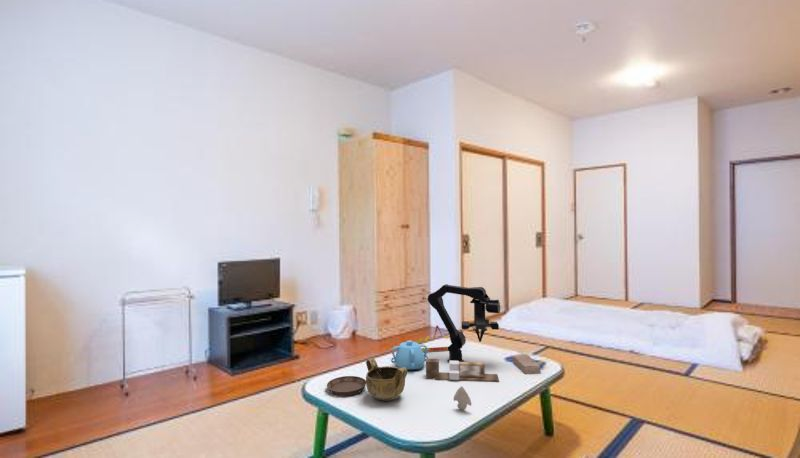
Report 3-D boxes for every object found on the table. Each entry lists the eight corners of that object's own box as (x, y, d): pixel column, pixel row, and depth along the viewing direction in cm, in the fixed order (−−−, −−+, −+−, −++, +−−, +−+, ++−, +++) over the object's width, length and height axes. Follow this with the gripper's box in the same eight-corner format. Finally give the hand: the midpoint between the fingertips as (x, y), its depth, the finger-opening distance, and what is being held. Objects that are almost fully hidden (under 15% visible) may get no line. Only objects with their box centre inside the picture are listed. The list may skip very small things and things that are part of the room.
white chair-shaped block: (449, 379, 200) (449, 366, 199) (449, 372, 208) (449, 360, 208) (459, 379, 199) (459, 367, 199) (458, 372, 208) (458, 360, 208)
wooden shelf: (425, 379, 202) (425, 362, 202) (426, 373, 210) (426, 357, 210) (499, 382, 198) (498, 364, 198) (497, 375, 206) (497, 359, 205)
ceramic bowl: (418, 399, 180) (418, 363, 180) (390, 412, 168) (389, 375, 168) (382, 385, 196) (381, 353, 195) (353, 396, 184) (353, 362, 183)
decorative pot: (432, 366, 220) (432, 340, 220) (411, 375, 208) (411, 347, 208) (408, 359, 231) (408, 334, 231) (387, 367, 219) (387, 341, 219)
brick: (541, 374, 208) (541, 364, 208) (524, 375, 207) (524, 365, 207) (527, 363, 224) (527, 354, 224) (512, 363, 223) (512, 354, 223)
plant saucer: (343, 401, 180) (343, 394, 179) (318, 390, 192) (318, 383, 192) (374, 389, 192) (374, 382, 192) (349, 379, 205) (349, 373, 204)
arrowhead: (452, 409, 170) (451, 384, 170) (455, 406, 172) (454, 382, 172) (470, 414, 166) (469, 388, 165) (473, 411, 168) (472, 386, 167)
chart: (408, 354, 241) (407, 328, 241) (407, 352, 244) (406, 326, 244) (459, 350, 246) (459, 325, 246) (458, 349, 249) (457, 323, 249)
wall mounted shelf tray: (459, 376, 202) (458, 364, 202) (459, 374, 205) (458, 361, 205) (484, 377, 200) (484, 365, 200) (484, 374, 204) (484, 362, 204)
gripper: (461, 315, 214) (462, 346, 214) (499, 315, 212) (500, 346, 212) (461, 310, 225) (461, 339, 225) (497, 310, 223) (497, 340, 223)
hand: (480, 341), depth 221 cm, fingers closed
